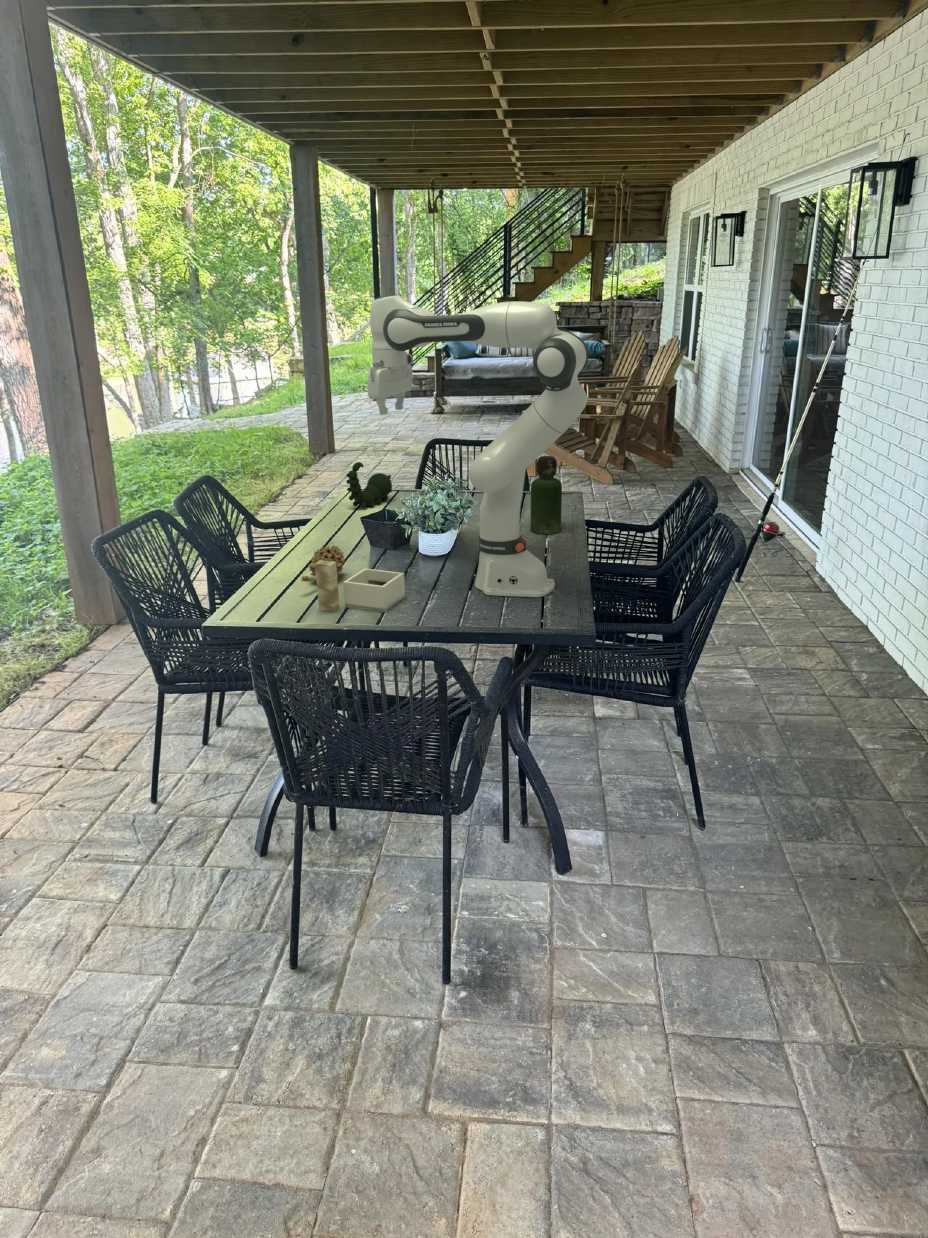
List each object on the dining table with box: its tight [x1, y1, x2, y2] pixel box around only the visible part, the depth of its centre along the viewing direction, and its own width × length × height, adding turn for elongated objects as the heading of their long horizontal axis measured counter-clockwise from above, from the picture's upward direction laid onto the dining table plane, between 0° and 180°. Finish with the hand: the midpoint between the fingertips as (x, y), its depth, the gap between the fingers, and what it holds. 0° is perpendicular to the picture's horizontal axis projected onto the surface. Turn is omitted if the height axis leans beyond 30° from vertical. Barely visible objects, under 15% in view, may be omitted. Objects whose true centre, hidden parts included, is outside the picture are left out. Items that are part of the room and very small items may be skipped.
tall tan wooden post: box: [315, 560, 340, 613], centre depth 225 cm, size 4×3×13 cm, turn 68°
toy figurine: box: [345, 461, 393, 509], centre depth 329 cm, size 9×19×25 cm
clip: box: [368, 580, 387, 586], centre depth 231 cm, size 6×6×4 cm
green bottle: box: [530, 455, 563, 535], centre depth 289 cm, size 10×10×25 cm
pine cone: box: [300, 544, 346, 583], centre depth 245 cm, size 22×10×10 cm, turn 167°
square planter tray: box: [342, 568, 406, 613], centre depth 231 cm, size 12×12×7 cm
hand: (391, 411), depth 236 cm, fingers open, 8 cm apart
